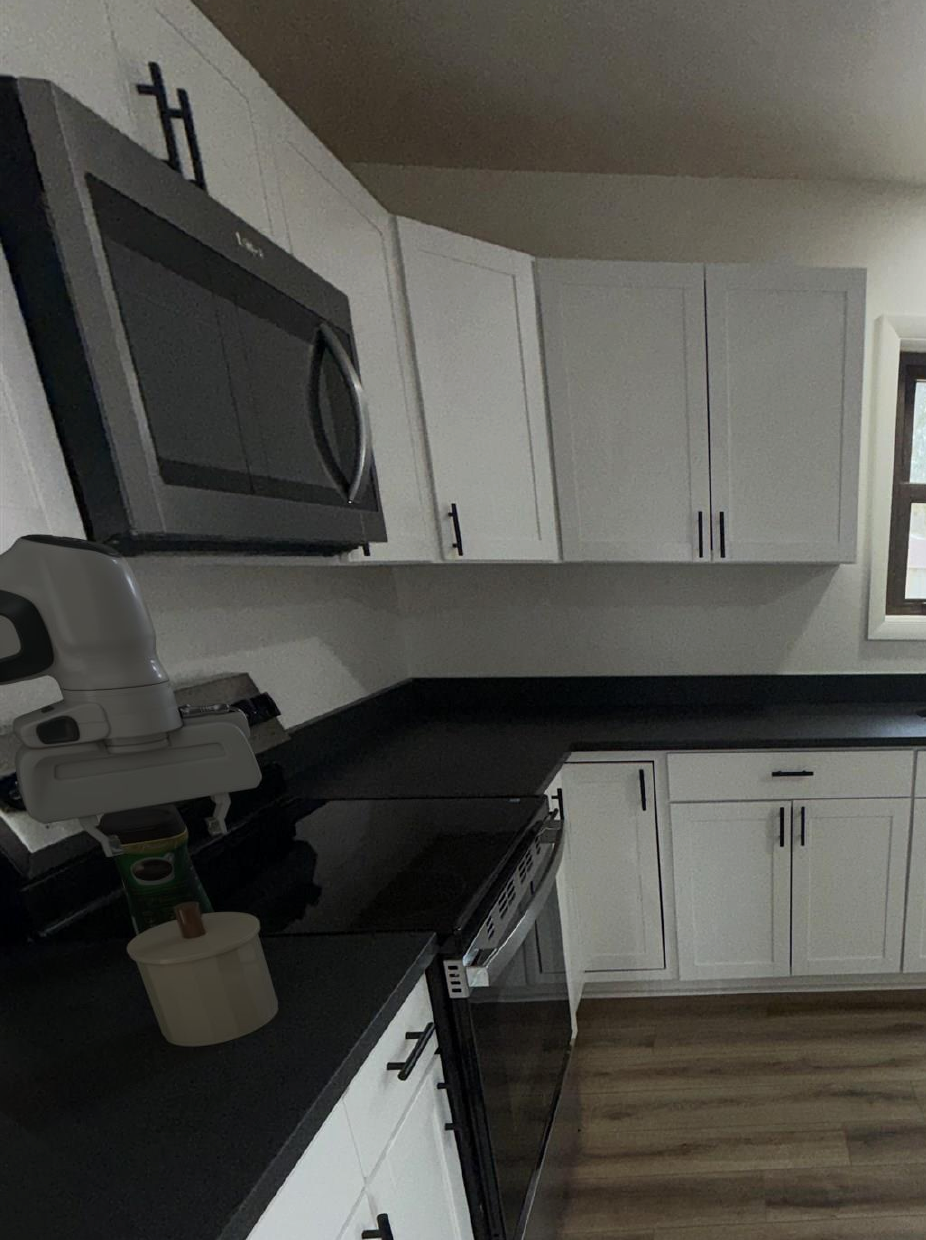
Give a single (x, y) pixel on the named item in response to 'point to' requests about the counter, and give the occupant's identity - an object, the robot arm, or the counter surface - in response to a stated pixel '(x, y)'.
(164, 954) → the cream pot lid
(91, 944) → the counter surface
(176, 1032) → the cup
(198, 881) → the coffee jar
